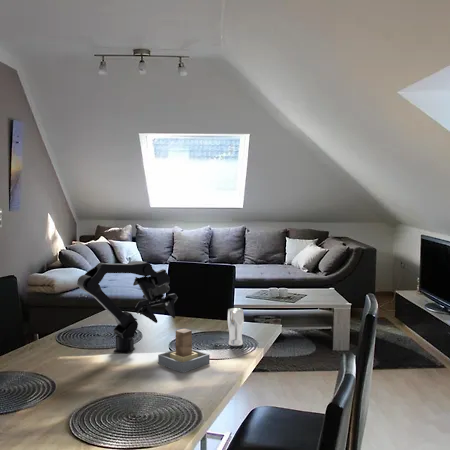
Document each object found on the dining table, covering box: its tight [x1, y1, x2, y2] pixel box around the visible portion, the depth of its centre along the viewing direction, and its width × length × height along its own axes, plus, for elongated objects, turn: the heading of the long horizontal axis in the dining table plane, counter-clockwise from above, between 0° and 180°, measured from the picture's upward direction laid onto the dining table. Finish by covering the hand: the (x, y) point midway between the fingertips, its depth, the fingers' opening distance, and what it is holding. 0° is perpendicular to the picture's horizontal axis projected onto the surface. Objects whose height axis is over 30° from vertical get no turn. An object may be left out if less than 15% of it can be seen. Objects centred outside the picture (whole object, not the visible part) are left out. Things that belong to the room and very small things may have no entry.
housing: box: [157, 348, 211, 374], centre depth 211 cm, size 14×14×4 cm
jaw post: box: [175, 328, 193, 357], centre depth 210 cm, size 4×4×12 cm
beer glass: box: [227, 307, 245, 347], centre depth 234 cm, size 7×7×15 cm
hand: (165, 320), depth 223 cm, fingers open, 9 cm apart
